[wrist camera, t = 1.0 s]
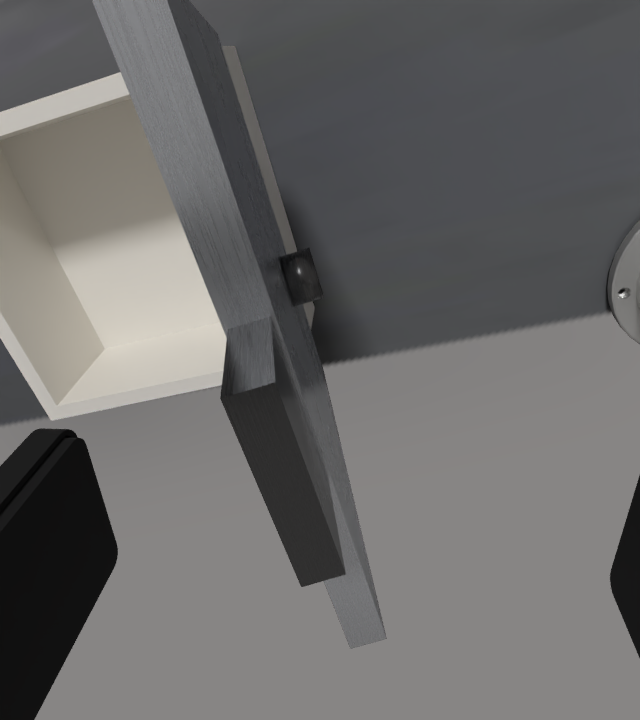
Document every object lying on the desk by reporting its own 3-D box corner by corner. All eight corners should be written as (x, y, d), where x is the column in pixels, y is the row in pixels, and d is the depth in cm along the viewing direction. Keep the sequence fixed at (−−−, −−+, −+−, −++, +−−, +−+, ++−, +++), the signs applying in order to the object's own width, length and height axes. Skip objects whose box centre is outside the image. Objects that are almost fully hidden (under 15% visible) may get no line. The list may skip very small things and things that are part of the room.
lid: (192, 42, 25) (242, 26, 25) (304, 374, 34) (341, 363, 34) (13, -62, 7) (207, -125, 6) (367, 749, 15) (452, 726, 15)
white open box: (235, 46, 34) (197, 46, 26) (314, 308, 42) (304, 368, 34) (-16, 128, 37) (-116, 150, 29) (104, 356, 45) (51, 420, 38)
